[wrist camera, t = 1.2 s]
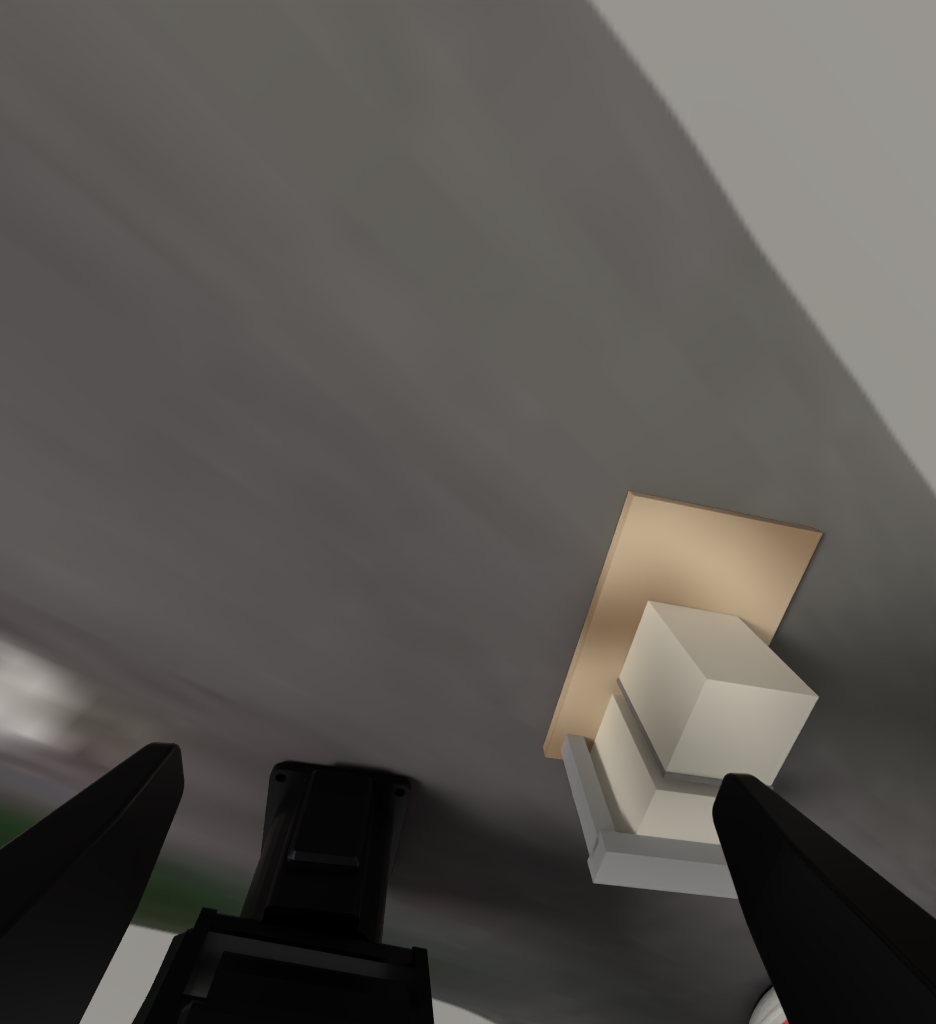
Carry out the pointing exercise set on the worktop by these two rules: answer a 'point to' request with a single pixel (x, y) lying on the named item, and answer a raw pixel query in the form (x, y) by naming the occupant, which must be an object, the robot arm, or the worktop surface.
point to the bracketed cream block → (642, 814)
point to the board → (675, 591)
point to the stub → (711, 696)
